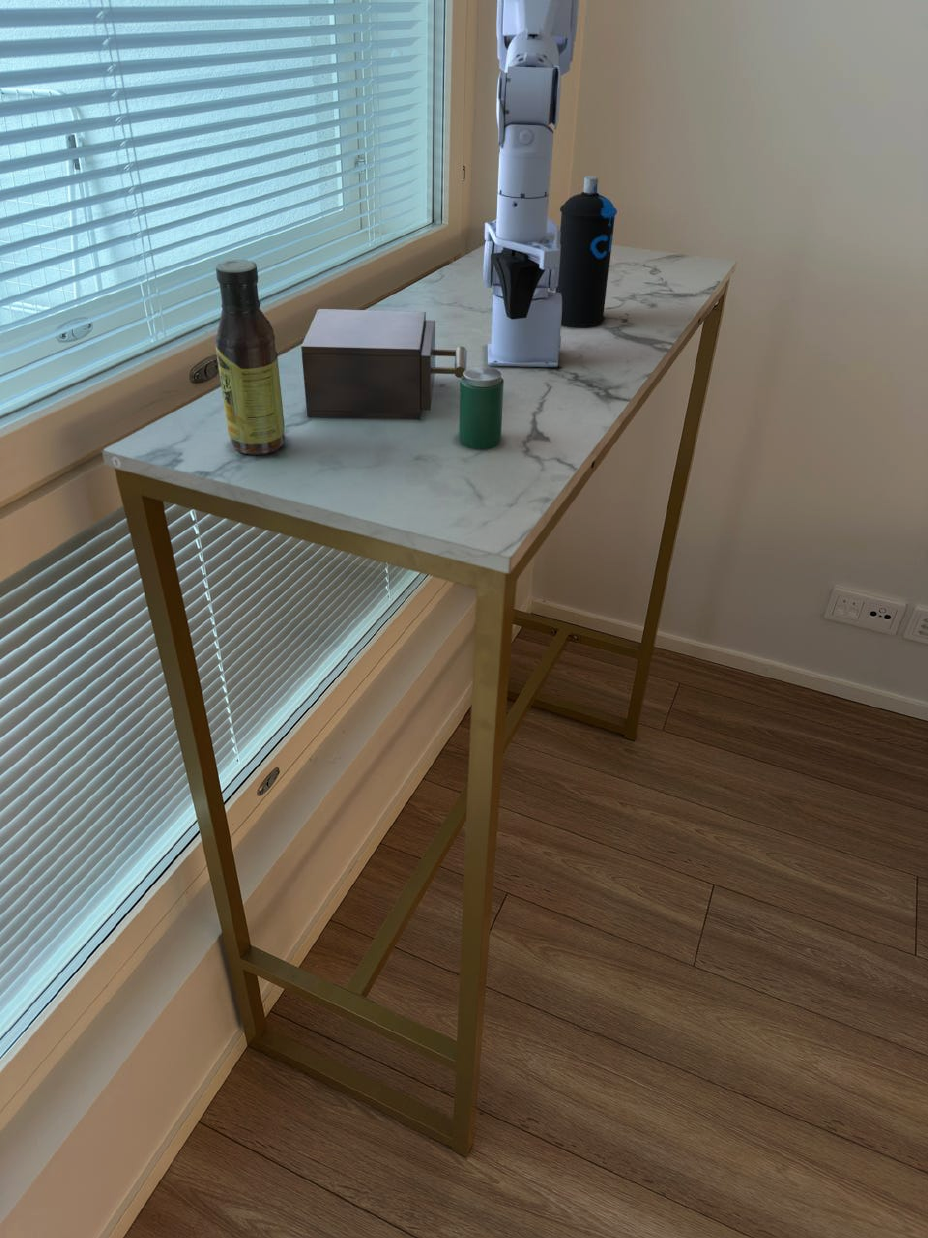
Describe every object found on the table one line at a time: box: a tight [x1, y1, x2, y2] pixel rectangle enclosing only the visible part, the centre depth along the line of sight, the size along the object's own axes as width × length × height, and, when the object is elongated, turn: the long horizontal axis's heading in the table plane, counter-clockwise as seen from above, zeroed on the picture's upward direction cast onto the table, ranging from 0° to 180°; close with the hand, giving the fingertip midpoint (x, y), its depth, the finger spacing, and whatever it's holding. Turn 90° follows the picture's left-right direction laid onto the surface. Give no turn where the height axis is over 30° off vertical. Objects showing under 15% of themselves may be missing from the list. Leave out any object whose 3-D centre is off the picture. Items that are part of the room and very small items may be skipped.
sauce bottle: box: [214, 259, 286, 456], centre depth 96 cm, size 6×6×20 cm
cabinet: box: [300, 308, 427, 421], centre depth 111 cm, size 14×14×9 cm
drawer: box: [420, 320, 468, 412], centre depth 111 cm, size 17×12×7 cm
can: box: [458, 366, 505, 450], centre depth 102 cm, size 5×5×8 cm
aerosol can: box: [554, 175, 618, 328], centre depth 134 cm, size 8×8×20 cm
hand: (516, 317), depth 108 cm, fingers closed
